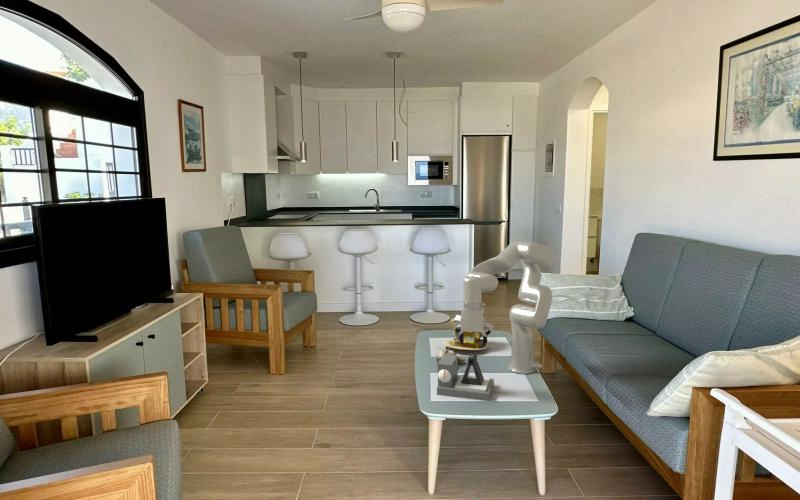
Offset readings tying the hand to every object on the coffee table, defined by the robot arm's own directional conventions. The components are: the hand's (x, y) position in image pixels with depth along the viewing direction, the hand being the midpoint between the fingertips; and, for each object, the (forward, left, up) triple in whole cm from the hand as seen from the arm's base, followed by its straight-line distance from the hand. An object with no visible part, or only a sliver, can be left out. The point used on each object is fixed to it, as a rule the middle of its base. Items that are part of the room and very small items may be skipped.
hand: (473, 343), depth 202 cm
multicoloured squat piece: (+14, -52, -21) cm, 58 cm away
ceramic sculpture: (+18, -27, -21) cm, 39 cm away
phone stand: (0, 0, -17) cm, 17 cm away
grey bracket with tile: (+3, 0, -21) cm, 21 cm away
